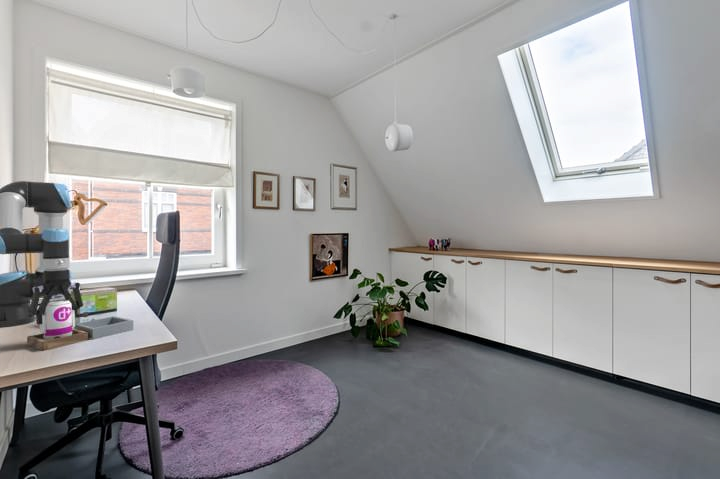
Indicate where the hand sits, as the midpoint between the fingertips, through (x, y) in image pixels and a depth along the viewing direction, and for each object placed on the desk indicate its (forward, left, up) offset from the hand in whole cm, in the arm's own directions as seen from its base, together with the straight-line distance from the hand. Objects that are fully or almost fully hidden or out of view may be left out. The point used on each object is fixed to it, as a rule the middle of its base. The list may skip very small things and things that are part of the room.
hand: (57, 329), depth 131 cm
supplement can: (0, 0, -4) cm, 4 cm away
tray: (0, +15, -5) cm, 16 cm away
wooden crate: (0, 0, -5) cm, 5 cm away
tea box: (-24, +23, -5) cm, 33 cm away
